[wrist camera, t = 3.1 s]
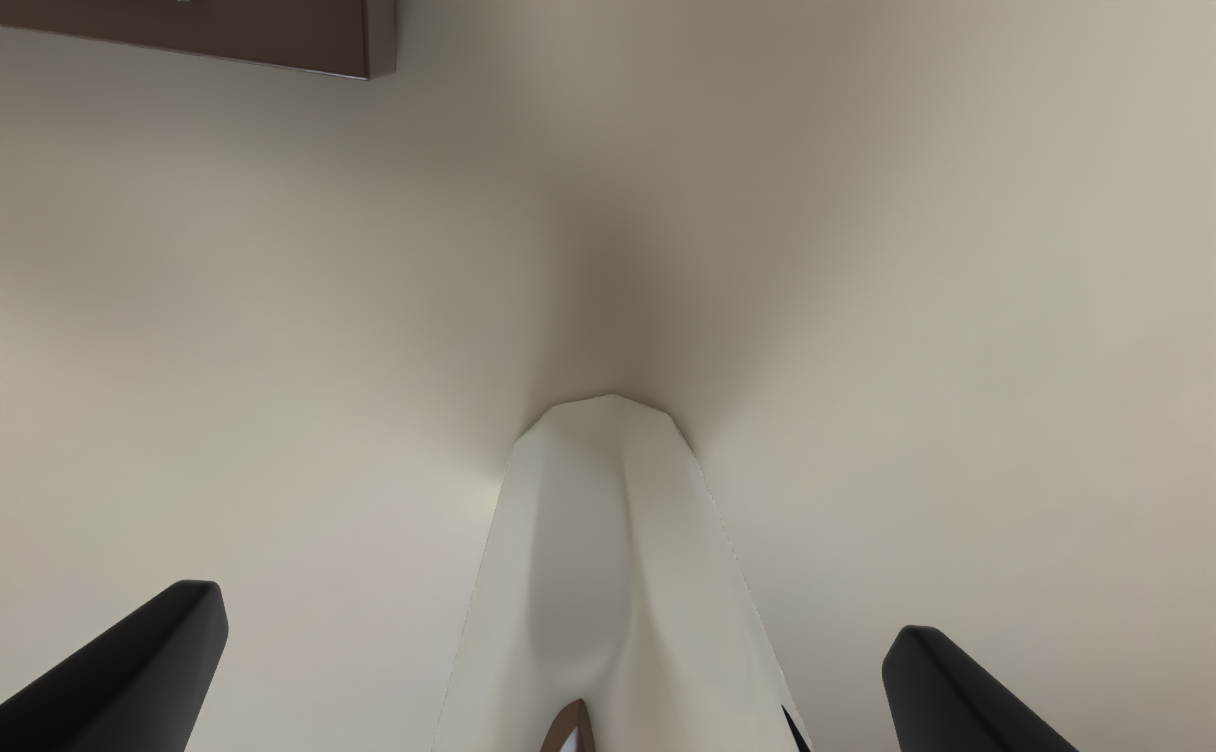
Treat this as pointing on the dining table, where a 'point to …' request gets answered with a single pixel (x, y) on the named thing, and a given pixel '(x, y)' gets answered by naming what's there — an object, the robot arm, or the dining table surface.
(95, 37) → the plate rack
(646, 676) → the milkshake
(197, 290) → the dining table surface
